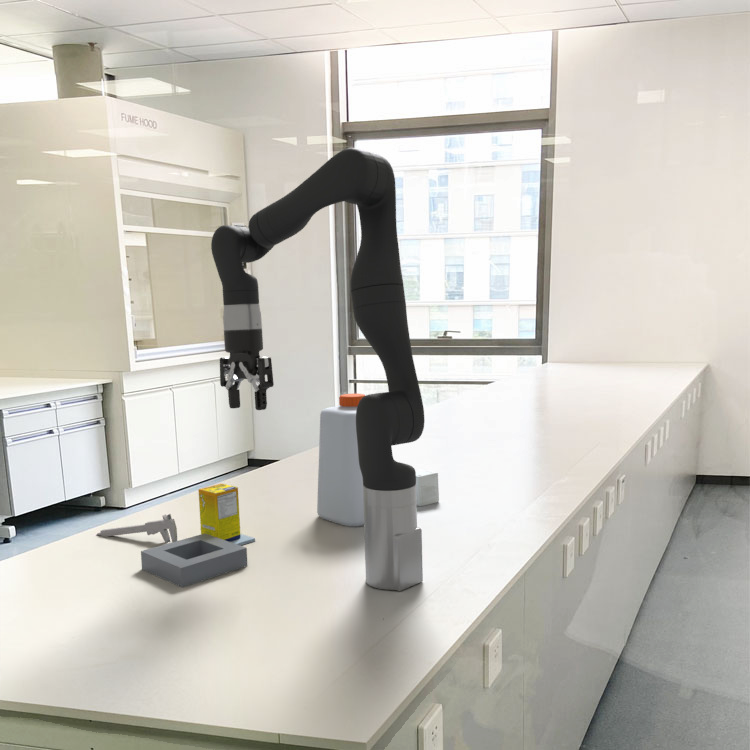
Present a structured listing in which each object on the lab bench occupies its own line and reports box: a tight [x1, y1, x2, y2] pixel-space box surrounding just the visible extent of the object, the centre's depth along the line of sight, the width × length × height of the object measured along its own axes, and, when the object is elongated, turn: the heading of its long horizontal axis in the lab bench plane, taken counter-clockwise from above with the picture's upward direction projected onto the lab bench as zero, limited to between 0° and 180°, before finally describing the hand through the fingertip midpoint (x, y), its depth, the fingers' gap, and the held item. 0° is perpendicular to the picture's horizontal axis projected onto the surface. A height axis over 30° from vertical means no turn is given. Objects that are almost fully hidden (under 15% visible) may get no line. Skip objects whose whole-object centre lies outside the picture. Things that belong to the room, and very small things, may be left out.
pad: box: [229, 533, 256, 546], centre depth 157 cm, size 10×10×1 cm
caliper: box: [95, 513, 178, 544], centre depth 161 cm, size 20×1×6 cm, turn 69°
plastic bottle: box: [316, 393, 366, 527], centre depth 172 cm, size 15×15×28 cm
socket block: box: [140, 533, 248, 588], centre depth 142 cm, size 14×14×4 cm
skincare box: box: [415, 468, 440, 507], centre depth 184 cm, size 6×6×7 cm
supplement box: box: [198, 483, 241, 542], centre depth 157 cm, size 6×6×11 cm
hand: (247, 408), depth 152 cm, fingers open, 8 cm apart
